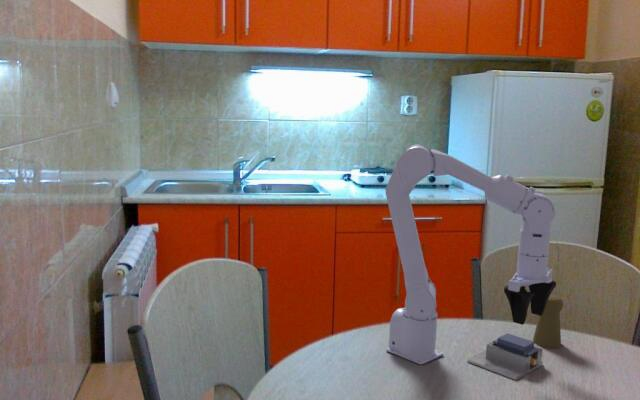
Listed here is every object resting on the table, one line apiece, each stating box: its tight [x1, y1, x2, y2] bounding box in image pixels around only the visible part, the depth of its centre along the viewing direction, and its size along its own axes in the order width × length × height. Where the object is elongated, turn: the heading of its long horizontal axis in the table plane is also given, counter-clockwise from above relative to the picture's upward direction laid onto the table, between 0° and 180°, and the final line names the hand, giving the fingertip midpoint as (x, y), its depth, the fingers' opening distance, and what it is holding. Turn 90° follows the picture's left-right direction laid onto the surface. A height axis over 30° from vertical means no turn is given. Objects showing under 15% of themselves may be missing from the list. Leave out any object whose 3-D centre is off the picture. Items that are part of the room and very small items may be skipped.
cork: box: [532, 294, 564, 349], centre depth 138 cm, size 6×6×11 cm
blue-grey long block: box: [492, 333, 539, 365], centre depth 126 cm, size 9×4×4 cm, turn 43°
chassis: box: [466, 341, 544, 381], centre depth 127 cm, size 11×11×4 cm
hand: (527, 318), depth 125 cm, fingers open, 7 cm apart
